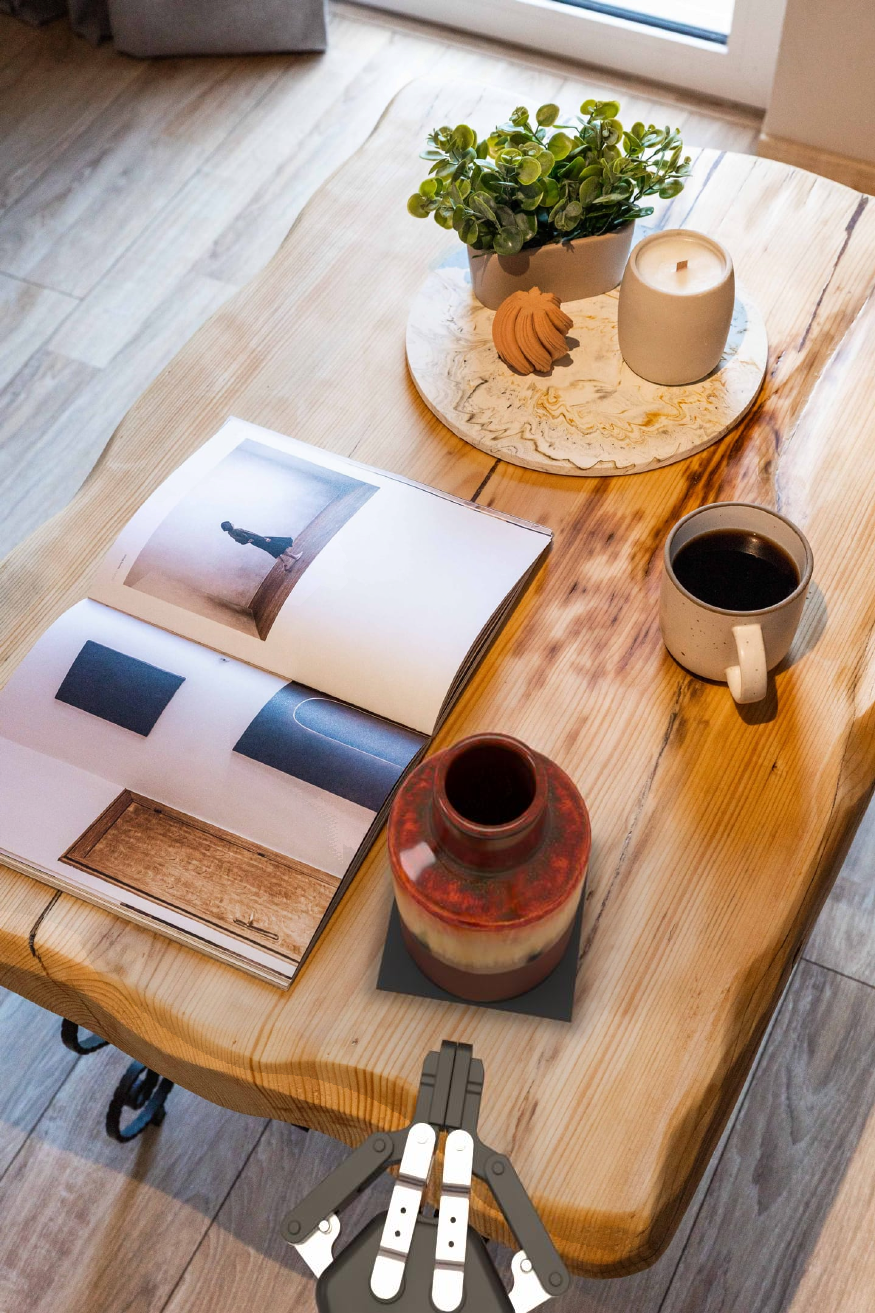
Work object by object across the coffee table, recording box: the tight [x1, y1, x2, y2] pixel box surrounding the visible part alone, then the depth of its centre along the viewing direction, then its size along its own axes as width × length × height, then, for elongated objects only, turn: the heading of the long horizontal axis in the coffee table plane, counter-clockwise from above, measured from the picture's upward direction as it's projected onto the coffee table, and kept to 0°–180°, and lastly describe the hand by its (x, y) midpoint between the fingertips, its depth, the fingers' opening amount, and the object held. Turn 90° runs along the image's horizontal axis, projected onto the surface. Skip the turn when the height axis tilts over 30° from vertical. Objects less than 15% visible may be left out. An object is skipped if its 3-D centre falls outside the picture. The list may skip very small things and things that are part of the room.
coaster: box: [375, 862, 590, 1023], centre depth 70 cm, size 12×11×1 cm
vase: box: [386, 731, 592, 1003], centre depth 61 cm, size 11×11×20 cm
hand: (457, 1045), depth 52 cm, fingers closed
